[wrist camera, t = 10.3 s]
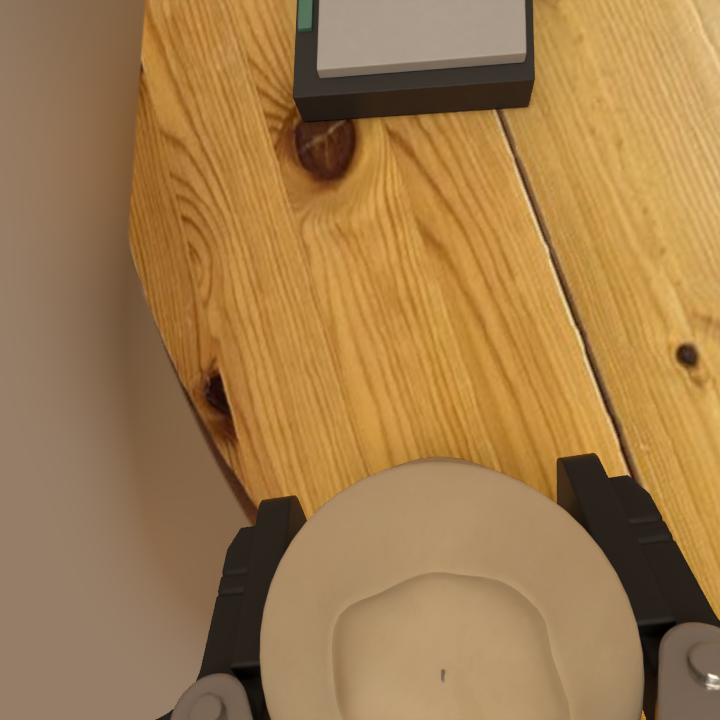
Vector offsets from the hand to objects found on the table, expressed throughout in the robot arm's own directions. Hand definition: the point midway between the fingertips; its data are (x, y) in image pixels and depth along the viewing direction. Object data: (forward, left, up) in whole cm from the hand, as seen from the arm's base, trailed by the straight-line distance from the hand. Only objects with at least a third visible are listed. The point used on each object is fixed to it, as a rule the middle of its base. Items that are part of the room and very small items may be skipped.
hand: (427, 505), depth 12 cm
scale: (-1, +27, -18) cm, 32 cm away
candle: (0, -2, -5) cm, 5 cm away
